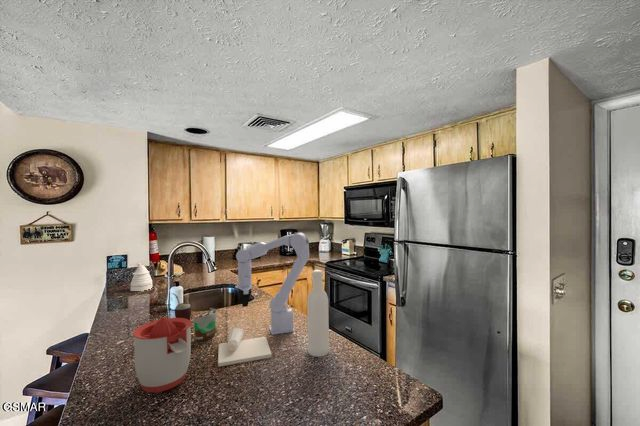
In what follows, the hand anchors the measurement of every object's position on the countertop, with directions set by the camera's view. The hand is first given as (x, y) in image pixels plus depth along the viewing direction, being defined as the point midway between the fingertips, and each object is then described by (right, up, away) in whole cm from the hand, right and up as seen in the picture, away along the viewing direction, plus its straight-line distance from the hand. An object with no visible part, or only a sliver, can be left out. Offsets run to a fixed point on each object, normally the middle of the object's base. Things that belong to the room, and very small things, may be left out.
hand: (245, 306), depth 125 cm
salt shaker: (0, -7, -12) cm, 14 cm away
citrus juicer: (-14, -11, -39) cm, 43 cm away
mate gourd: (-33, -11, +11) cm, 36 cm away
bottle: (+33, -10, -21) cm, 40 cm away
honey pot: (-90, -12, +70) cm, 115 cm away
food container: (-13, -11, -7) cm, 18 cm away
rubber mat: (+5, -10, -20) cm, 23 cm away
